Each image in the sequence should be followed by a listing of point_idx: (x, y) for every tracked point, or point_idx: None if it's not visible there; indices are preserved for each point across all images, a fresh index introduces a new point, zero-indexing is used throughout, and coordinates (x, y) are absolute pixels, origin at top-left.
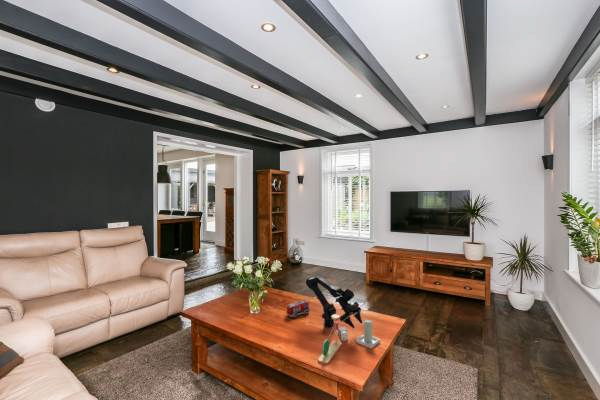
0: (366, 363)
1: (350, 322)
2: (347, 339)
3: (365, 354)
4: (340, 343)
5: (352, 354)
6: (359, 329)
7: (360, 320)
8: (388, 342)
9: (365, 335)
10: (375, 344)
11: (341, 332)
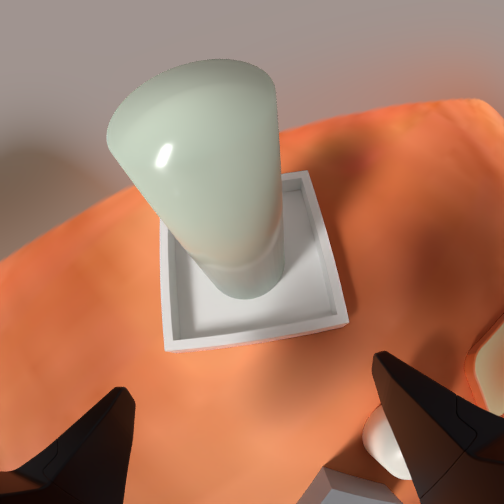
0: (426, 125)
1: (468, 409)
2: None
3: (389, 167)
4: (487, 352)
5: (462, 215)
6: None
7: (110, 423)
8: None
9: (283, 227)
10: None
11: None
